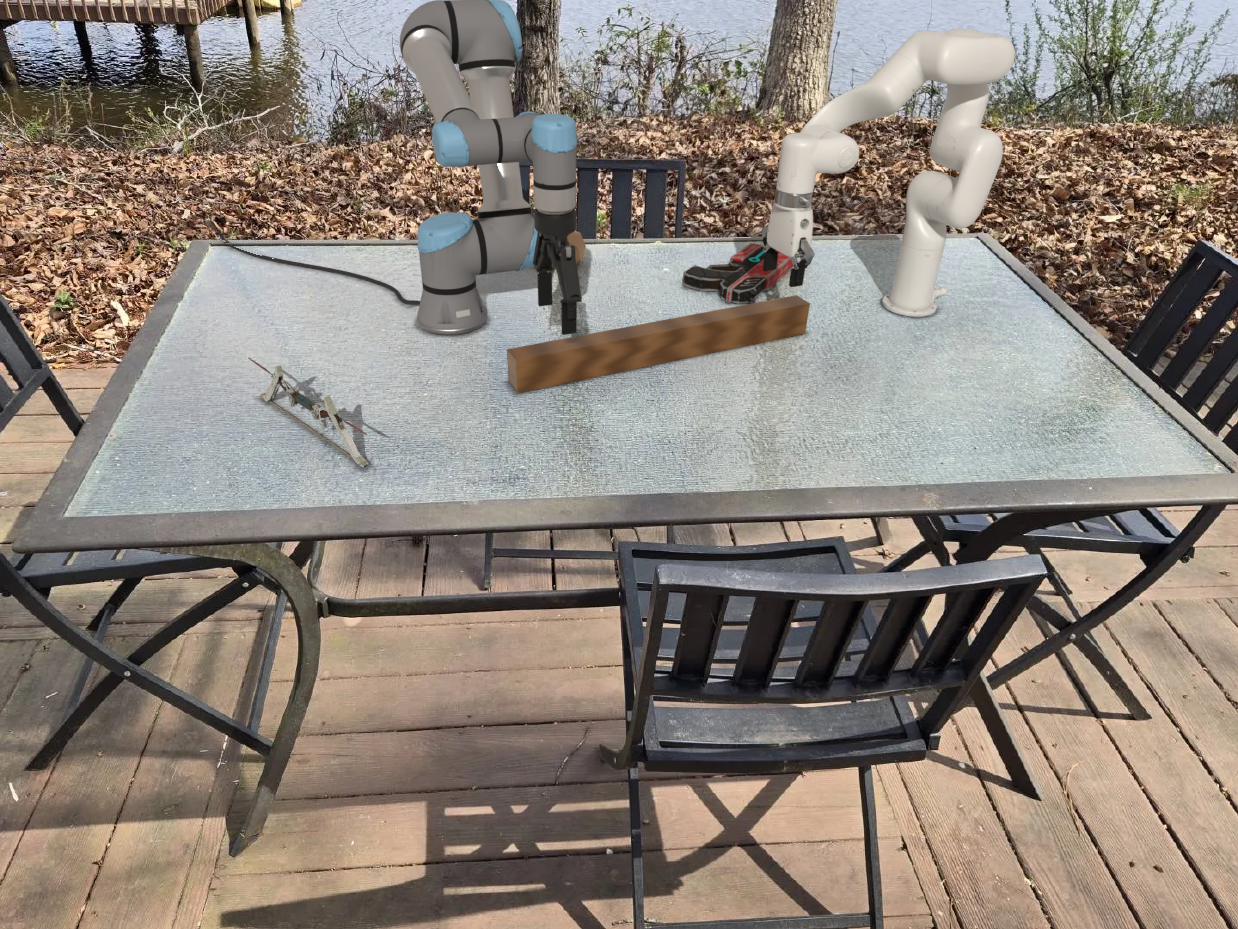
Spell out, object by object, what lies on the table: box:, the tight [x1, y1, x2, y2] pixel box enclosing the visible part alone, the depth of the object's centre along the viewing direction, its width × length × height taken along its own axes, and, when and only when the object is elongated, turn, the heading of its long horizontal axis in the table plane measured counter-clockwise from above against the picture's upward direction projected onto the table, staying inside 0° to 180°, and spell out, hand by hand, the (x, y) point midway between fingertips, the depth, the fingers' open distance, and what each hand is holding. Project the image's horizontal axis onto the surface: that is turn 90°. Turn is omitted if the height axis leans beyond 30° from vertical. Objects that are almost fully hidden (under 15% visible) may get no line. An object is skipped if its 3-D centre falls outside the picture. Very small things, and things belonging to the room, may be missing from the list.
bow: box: [247, 356, 370, 468], centre depth 154 cm, size 39×2×10 cm, turn 47°
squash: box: [552, 230, 587, 269], centre depth 226 cm, size 11×20×9 cm, turn 90°
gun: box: [682, 242, 794, 305], centre depth 221 cm, size 4×31×19 cm
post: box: [506, 294, 811, 394], centre depth 183 cm, size 69×5×7 cm, turn 116°
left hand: (556, 318), depth 168 cm, fingers open, 13 cm apart
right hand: (782, 277), depth 188 cm, fingers open, 9 cm apart
